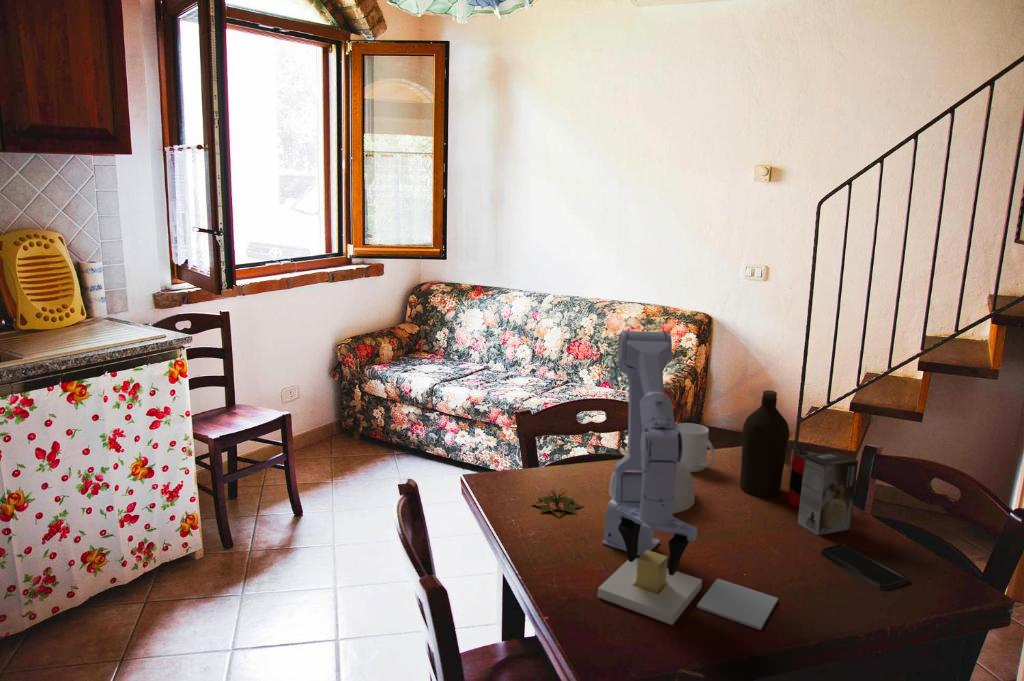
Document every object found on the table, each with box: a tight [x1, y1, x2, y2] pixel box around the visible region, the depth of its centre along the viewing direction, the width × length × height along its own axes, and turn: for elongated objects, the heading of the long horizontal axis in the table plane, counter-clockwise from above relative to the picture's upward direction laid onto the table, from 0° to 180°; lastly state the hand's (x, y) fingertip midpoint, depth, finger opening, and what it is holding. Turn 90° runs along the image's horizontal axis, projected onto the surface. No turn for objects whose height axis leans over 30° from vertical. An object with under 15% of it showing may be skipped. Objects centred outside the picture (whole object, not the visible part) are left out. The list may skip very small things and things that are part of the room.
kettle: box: [608, 453, 696, 514], centre depth 169 cm, size 20×21×18 cm
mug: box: [677, 422, 715, 473], centre depth 188 cm, size 9×12×11 cm
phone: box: [820, 543, 909, 591], centre depth 141 cm, size 8×1×15 cm
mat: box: [696, 577, 779, 631], centre depth 127 cm, size 11×11×1 cm
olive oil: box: [739, 389, 790, 498], centre depth 174 cm, size 11×11×25 cm
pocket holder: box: [597, 557, 703, 626], centre depth 129 cm, size 14×14×2 cm
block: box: [636, 550, 669, 594], centre depth 129 cm, size 4×4×7 cm
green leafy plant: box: [532, 488, 585, 519], centre depth 163 cm, size 12×12×5 cm
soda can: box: [787, 451, 818, 509], centre depth 168 cm, size 8×8×12 cm
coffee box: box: [797, 451, 859, 536], centre depth 156 cm, size 9×6×16 cm
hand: (652, 566), depth 128 cm, fingers open, 7 cm apart
